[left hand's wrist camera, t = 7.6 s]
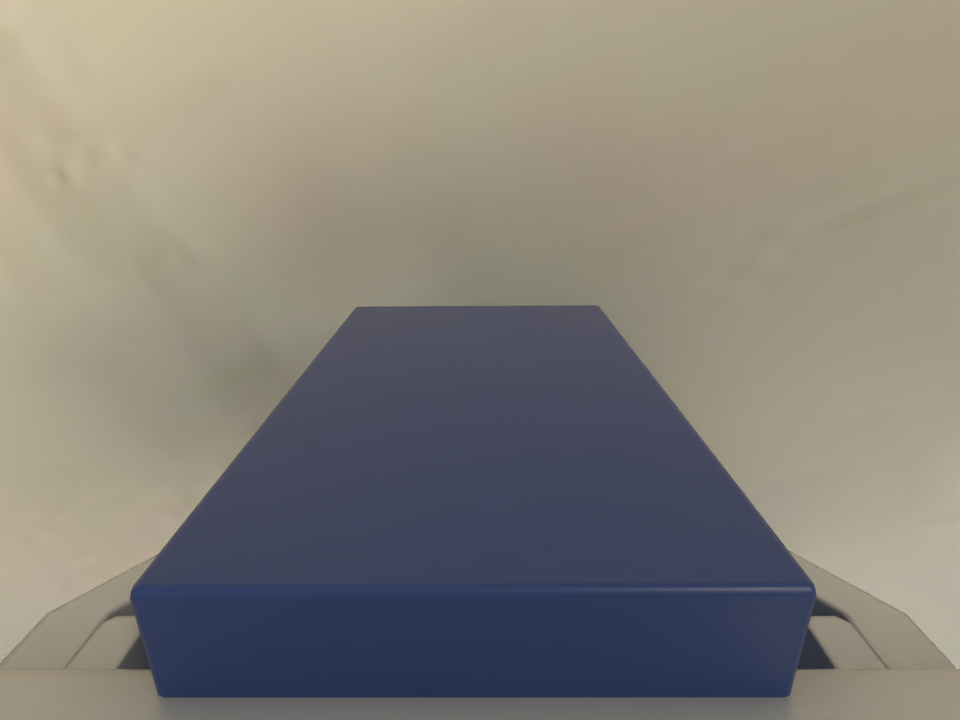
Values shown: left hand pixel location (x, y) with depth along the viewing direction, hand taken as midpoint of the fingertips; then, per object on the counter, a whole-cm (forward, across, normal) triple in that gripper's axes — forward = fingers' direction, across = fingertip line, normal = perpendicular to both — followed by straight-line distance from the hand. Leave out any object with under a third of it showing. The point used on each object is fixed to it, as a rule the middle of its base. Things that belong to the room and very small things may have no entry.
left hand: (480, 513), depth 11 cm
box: (+4, 0, -8) cm, 9 cm away
